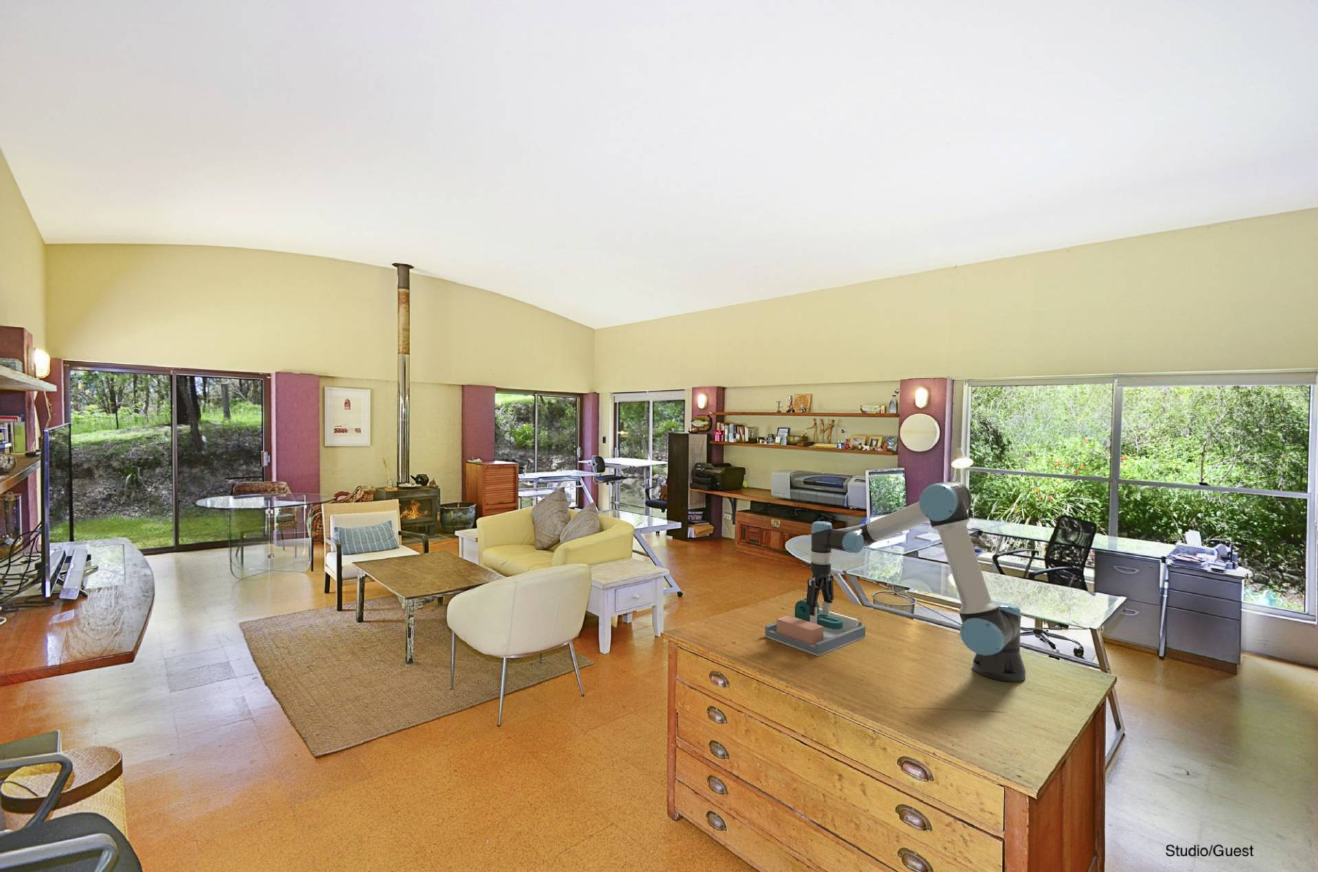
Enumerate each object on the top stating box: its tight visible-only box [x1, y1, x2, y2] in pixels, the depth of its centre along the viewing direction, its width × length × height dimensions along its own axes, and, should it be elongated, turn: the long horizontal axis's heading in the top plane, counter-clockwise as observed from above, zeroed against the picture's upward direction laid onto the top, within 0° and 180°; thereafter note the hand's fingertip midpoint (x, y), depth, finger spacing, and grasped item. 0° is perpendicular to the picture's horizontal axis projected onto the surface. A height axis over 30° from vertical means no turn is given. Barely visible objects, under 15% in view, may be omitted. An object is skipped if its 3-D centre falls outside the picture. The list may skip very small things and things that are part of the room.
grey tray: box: [764, 620, 866, 657], centre depth 225 cm, size 30×24×6 cm
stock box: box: [776, 614, 824, 646], centre depth 219 cm, size 7×16×7 cm, turn 40°
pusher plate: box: [819, 607, 859, 632], centre depth 233 cm, size 1×20×6 cm, turn 40°
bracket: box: [794, 597, 843, 629], centre depth 227 cm, size 18×7×8 cm, turn 47°
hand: (819, 621), depth 227 cm, fingers closed on bracket, 7 cm apart
